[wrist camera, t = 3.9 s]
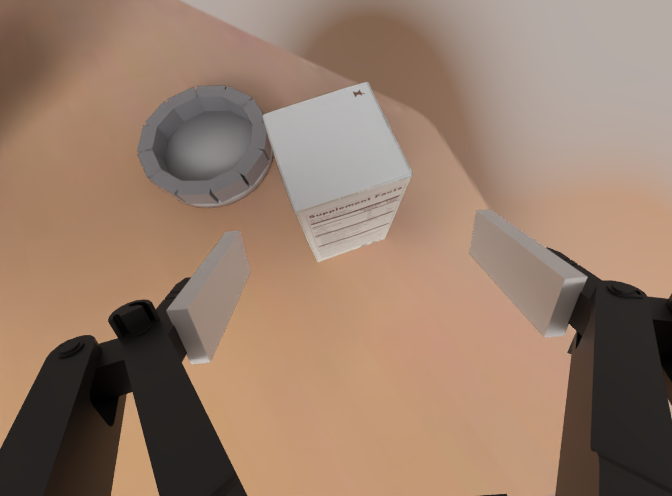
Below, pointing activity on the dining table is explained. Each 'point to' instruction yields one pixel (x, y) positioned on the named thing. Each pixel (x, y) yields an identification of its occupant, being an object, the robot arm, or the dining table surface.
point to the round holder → (206, 146)
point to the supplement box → (339, 168)
